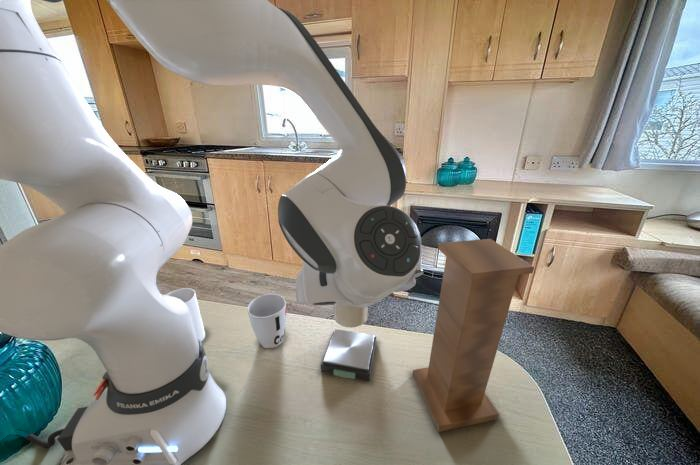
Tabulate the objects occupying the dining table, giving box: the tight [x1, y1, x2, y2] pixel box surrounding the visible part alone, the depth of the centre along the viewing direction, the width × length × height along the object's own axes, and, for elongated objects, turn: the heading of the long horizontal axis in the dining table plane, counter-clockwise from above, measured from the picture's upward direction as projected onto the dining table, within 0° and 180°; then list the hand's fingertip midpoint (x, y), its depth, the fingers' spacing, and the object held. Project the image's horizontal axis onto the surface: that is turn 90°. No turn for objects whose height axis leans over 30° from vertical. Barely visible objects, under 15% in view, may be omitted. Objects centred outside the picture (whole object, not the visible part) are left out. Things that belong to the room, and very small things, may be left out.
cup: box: [246, 293, 287, 349], centre depth 62 cm, size 8×8×10 cm
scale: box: [320, 328, 377, 382], centre depth 59 cm, size 10×10×3 cm
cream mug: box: [333, 304, 369, 329], centre depth 55 cm, size 7×9×10 cm
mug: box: [165, 287, 206, 343], centre depth 60 cm, size 10×7×12 cm, turn 178°
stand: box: [412, 238, 535, 433], centre depth 46 cm, size 11×11×30 cm
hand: (349, 291), depth 54 cm, fingers closed on cream mug, 7 cm apart
